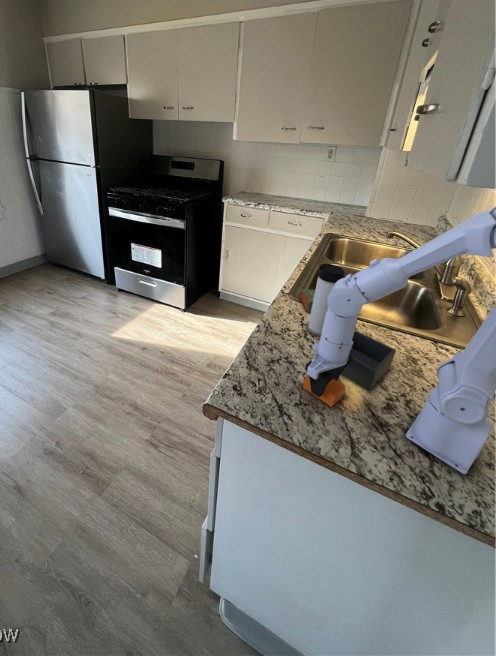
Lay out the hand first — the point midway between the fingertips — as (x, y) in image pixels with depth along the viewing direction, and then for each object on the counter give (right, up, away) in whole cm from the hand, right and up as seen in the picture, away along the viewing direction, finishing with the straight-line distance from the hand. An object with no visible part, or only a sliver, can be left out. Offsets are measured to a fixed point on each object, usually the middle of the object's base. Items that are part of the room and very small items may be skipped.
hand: (323, 386), depth 68 cm
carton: (+14, +14, +33) cm, 39 cm away
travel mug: (+6, +8, +22) cm, 24 cm away
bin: (+11, +2, +9) cm, 14 cm away
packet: (0, -1, +1) cm, 1 cm away
